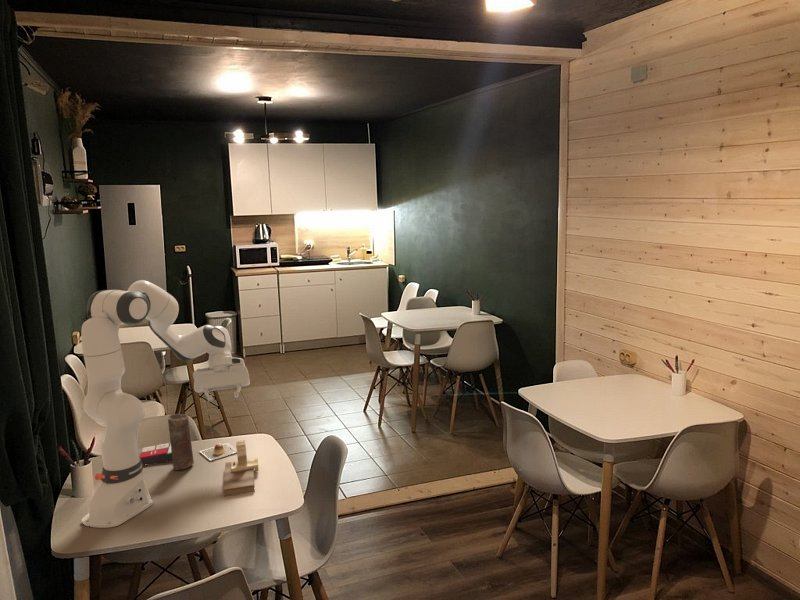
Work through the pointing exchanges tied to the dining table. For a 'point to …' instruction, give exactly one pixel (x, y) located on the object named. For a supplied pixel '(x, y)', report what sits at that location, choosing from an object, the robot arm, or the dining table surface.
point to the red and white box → (156, 454)
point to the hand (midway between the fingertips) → (223, 398)
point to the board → (238, 481)
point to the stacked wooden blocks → (243, 459)
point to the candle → (180, 441)
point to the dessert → (219, 450)
